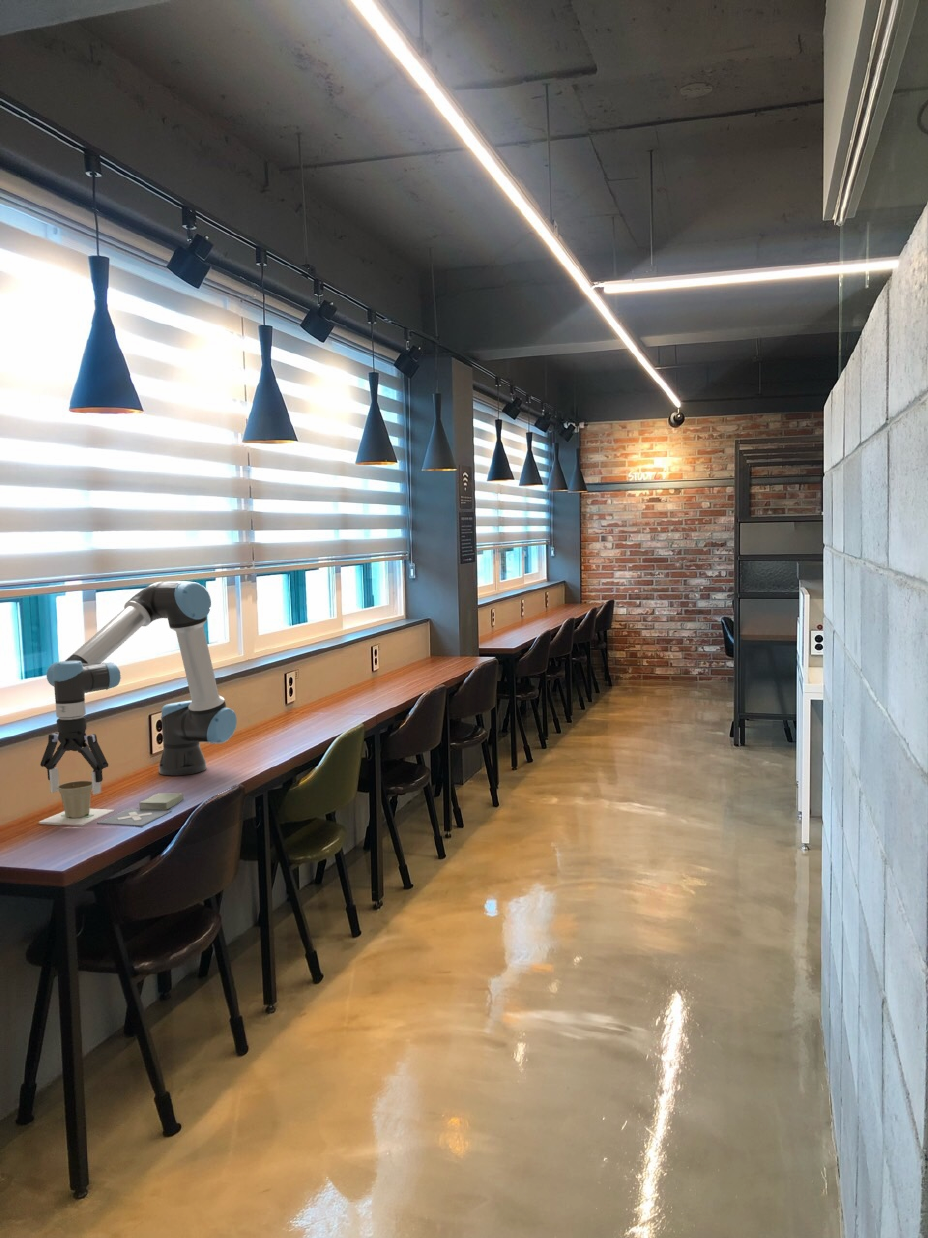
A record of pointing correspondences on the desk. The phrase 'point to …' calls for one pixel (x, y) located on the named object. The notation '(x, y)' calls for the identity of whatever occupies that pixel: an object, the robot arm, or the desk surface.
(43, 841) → the desk surface
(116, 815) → the pad
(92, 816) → the pad
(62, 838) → the desk surface
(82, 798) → the flower pot
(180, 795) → the notebook
